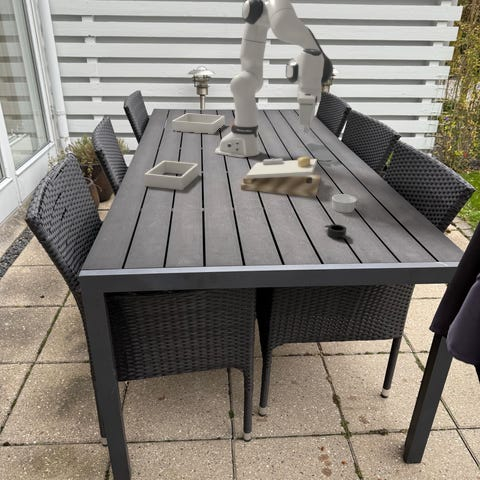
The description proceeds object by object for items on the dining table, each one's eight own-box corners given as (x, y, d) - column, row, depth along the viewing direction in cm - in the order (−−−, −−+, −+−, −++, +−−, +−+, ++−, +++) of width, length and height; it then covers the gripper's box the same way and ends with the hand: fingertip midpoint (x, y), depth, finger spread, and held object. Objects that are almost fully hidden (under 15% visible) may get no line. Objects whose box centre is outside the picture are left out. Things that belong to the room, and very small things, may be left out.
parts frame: (145, 185, 188) (144, 174, 185) (164, 171, 205) (163, 160, 203) (182, 190, 184) (181, 178, 182) (198, 175, 202) (198, 163, 199)
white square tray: (172, 131, 275) (172, 120, 272) (187, 122, 296) (186, 113, 294) (212, 134, 269) (212, 124, 267) (224, 125, 291) (224, 115, 288)
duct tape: (345, 230, 154) (346, 222, 152) (350, 243, 145) (352, 235, 143) (322, 229, 154) (323, 221, 153) (326, 242, 145) (327, 234, 144)
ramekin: (341, 215, 165) (342, 204, 163) (325, 207, 172) (327, 196, 170) (360, 211, 168) (362, 200, 166) (344, 203, 175) (346, 192, 173)
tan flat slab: (240, 189, 186) (241, 180, 185) (252, 173, 206) (253, 164, 204) (315, 197, 180) (316, 187, 178) (320, 179, 199) (321, 171, 198)
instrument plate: (247, 178, 186) (245, 167, 184) (256, 166, 202) (255, 155, 200) (312, 175, 179) (311, 163, 177) (316, 162, 194) (316, 151, 193)
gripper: (304, 91, 185) (301, 126, 191) (297, 99, 167) (294, 137, 173) (320, 92, 184) (317, 127, 190) (314, 100, 166) (311, 138, 172)
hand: (306, 132), depth 181 cm, fingers closed
